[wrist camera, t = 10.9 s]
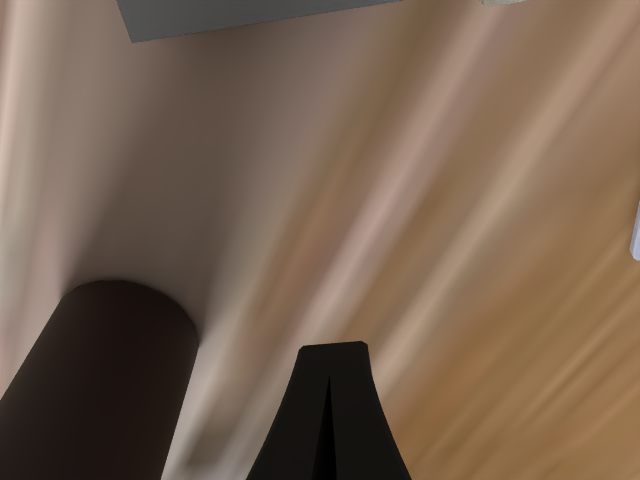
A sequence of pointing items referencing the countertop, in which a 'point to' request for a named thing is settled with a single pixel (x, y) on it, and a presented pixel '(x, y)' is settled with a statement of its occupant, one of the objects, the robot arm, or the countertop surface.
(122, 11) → the switch panel
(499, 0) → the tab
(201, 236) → the countertop surface
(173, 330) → the bottle
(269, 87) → the countertop surface
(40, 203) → the countertop surface
